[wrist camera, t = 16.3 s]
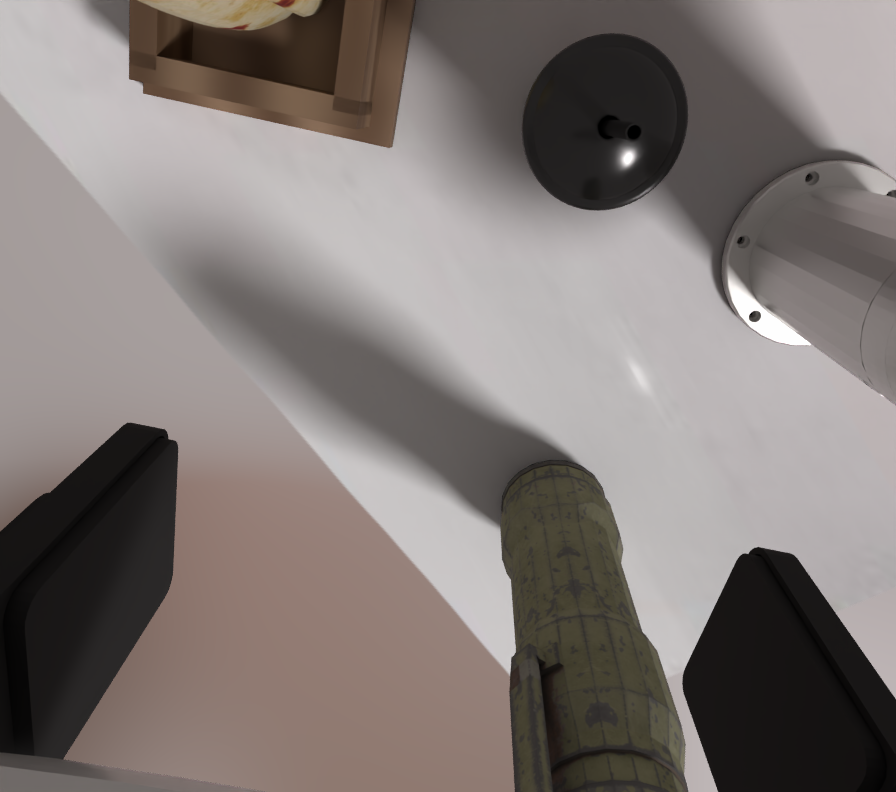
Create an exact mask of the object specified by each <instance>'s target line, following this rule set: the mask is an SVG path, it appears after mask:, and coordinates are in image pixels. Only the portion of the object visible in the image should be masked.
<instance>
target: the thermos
mask: <svg viewBox="0 0 896 792" xmlns="http://www.w3.org/2000/svg"><path fill="white" fill-rule="evenodd" d="M501 511H502V515H501V545H502V560H503V563H504V566H505V569H506V572H507V574H508V576H509V577H510V579H511V586H512V600H513V614H514V628H515V643H516V653H515V655H514V656H513V657H512V658H511V673H510V710H511V727H512V728H511V729H512V746H513V764H514V783H515V792H688V788H687V783H686V780H685V777H684V764H685V740H684V735H683V731H682V727H681V723H680V720H679V717H678V714H677V711H676V708H675V705H674V702H673V698H672V695H671V692H670V690H669V686H668V683H667V680H666V677H665V674H664V671H663V668H662V665H661V662H660V659H659V656H658V653H657V650H656V649H655V648H654V646H653V645H652V643H651V642H650V641H649V639H648V638H647V637H646V635H645V634H644V633H643V632H642V629H641V626H640V623H639V620H638V616H637V613H636V610H635V607H634V604H633V600H632V597H631V594H630V591H629V588H628V584H627V581H626V578H625V575H624V571H623V568H622V565H621V560H622V554H623V546H622V542H621V537H620V533H619V530H618V527H617V524H616V521H615V518H614V515H613V512H612V509H611V506H610V504H609V502H608V501H607V499H606V498H605V495H604V491H603V488H602V486H601V485H600V483H599V482H598V480H597V479H596V477H595V476H594V475H593V474H592V473H590V472H589V471H588V470H586V469H585V468H583V467H582V466H580V465H577V464H574V463H571V462H568V461H554V460H549V461H544V462H540V463H536V464H532V465H531V466H529V467H527V468H525V469H524V470H522V471H520V472H519V473H518V474H517V475H516V476H515V477H514V478H513V479H512V480H511V481H510V482H509V483H508V485H507V487H506V489H505V492H504V494H503V496H502V509H501Z"/></svg>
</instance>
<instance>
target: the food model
mask: <svg viewBox="0 0 896 792" xmlns="http://www.w3.org/2000/svg"><path fill="white" fill-rule="evenodd" d="M138 1H140V2H142V3H144V4H147V5H149V6H151V7H153V8H155V9H158V10H161V11H163V12H166V13H168V14H171V15H174V16H177V17H180V18H183V19H186V20H189V21H192V22H196V23H199V24H203V25H207V26H211V27H216V28H223V29H230V30H255V29H261V28H264V27H267V26H270V25H272V24H275V23H277V22H279V21H282V20H284V19H286V18H287V17H289V16H290V15H291V14H292V13H295V14H297V15H300V16H302V17H306V16H310V15H314V14H317V13H318V12H319V11H320V10H321V9H322V8H323V6H324V5H325V4H326V3H327V2H328V1H329V0H138Z"/></svg>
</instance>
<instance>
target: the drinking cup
mask: <svg viewBox="0 0 896 792" xmlns="http://www.w3.org/2000/svg"><path fill="white" fill-rule="evenodd" d="M687 123H688V105H687V97H686V92H685V89H684V86H683V83H682V80H681V78H680V76H679V74H678V72H677V70H676V68H675V67H674V65H673V64H672V63H671V61H670V60H669V59H668V58H667V57H666V56H665V55H664V54H663V53H662V52H661V51H660V50H659V49H658V48H656V47H655V46H653V45H652V44H650V43H648V42H647V41H645V40H642V39H640V38H637V37H634V36H630V35H625V34H614V33H610V34H600V35H595V36H591V37H588V38H585V39H582V40H580V41H578V42H576V43H574V44H572V45H570V46H568V47H567V48H565V49H564V50H562V51H561V52H560V53H559V54H557V55H556V56H555V57H554V58H553V59H552V60H551V61H550V62H549V63H548V64H547V65H546V66H545V67H544V69H543V70H542V71H541V73H540V74H539V75H538V77H537V79H536V80H535V82H534V84H533V86H532V88H531V90H530V92H529V95H528V98H527V100H526V104H525V107H524V112H523V118H522V141H523V147H524V152H525V155H526V159H527V161H528V164H529V166H530V168H531V170H532V172H533V174H534V176H535V177H536V179H537V180H538V181H539V183H540V184H541V185H542V186H543V187H544V188H545V189H546V190H547V191H548V192H549V193H550V194H551V195H553V196H554V197H555V198H557V199H559V200H560V201H562V202H564V203H566V204H568V205H571V206H573V207H576V208H580V209H586V210H609V209H615V208H619V207H622V206H625V205H628V204H630V203H632V202H634V201H636V200H638V199H640V198H642V197H643V196H645V195H646V194H647V193H649V192H650V191H651V190H652V189H654V188H655V187H656V186H657V185H658V184H659V183H660V182H661V181H662V180H663V179H664V177H665V176H666V175H667V174H668V172H669V171H670V170H671V168H672V167H673V165H674V163H675V161H676V160H677V158H678V155H679V153H680V151H681V148H682V146H683V143H684V139H685V136H686V130H687Z"/></svg>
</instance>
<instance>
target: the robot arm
mask: <svg viewBox="0 0 896 792" xmlns="http://www.w3.org/2000/svg"><path fill="white" fill-rule="evenodd" d="M807 174H809V175H810V176H809V179H808V180H807V181H805V178H806V176H807ZM887 193H888V196H886V195H887ZM741 236H742V241H741V242H740V243H737V240H738V239H739V237H741ZM722 281H723V287H724V292H725V294H726V297H727V299H728V302H729V304H730V306H731V308H732V309H733V310H734V312H735V313H736V315H737V316H738V318H739V319H740V320H741V321H743V322H744V323H745V324H746V325H747V326H748V327H749V328H751V329H752V330H753V331H755V332H756V333H758V334H759V335H760V336H762V337H765V338H767V339H769V340H772V341H774V342H778V343H782V344H787V345H797V346H810V345H813V346H814V347H816V348H817V349H818V350H820V351H821V352H822V353H824V354H825V355H827V356H828V357H829V358H831V359H832V360H833V361H835V362H836V363H838V364H839V365H840V366H842V367H843V368H844V369H846V370H847V371H849V372H850V373H851V374H853V375H854V376H855V377H857V378H858V379H859V380H861V381H862V382H864V383H865V384H866V385H868V386H869V387H870V388H872V389H873V390H875V391H876V392H878V393H879V394H880V395H882V396H883V397H885V398H886V399H888V400H889V401H890V402H892V403H893V404H895V405H896V180H895V179H894V178H893V177H891V176H889V175H888V174H886V173H885V172H883V171H882V170H880V169H878V168H875V167H872V166H869V165H866V164H864V163H859V162H853V161H845V160H827V161H821V162H816V163H810V164H807V165H804V166H801V167H799V168H796V169H793V170H791V171H789V172H787V173H785V174H783V175H782V176H780V177H778V178H776V179H775V180H773V181H772V182H770V183H769V184H768V185H767V186H765V187H764V188H763V189H762V190H761V191H759V192H758V193H757V194H756V195H755V196H754V197H753V198H752V200H751V201H750V202H749V203H748V204H747V205H746V206H745V207H744V209H743V210H742V212H741V213H740V215H739V216H738V218H737V219H736V221H735V223H734V224H733V226H732V229H731V231H730V233H729V236H728V238H727V240H726V244H725V248H724V253H723V257H722ZM753 311H754V312H753ZM751 312H753V314H752V315H751V316H749V314H750V313H751ZM177 464H178V445H177V442H176V441H174V440H169V439H168V434H167V431H166V430H165V429H160V428H155V427H150V426H145V425H140V424H135V423H126V424H125V425H123V426H122V427H121V428H120V429H119V430H118V431H117V432H116V433H115V434H113V435H112V436H111V437H110V438H109V439H108V440H107V441H106V442H105V443H104V444H103V445H101V446H100V447H99V448H98V449H97V450H96V451H95V452H94V453H93V454H92V455H91V456H89V457H88V458H87V459H86V460H85V461H84V462H83V463H82V464H81V465H80V466H79V467H77V468H76V469H75V470H74V471H73V472H72V473H71V474H70V475H69V476H68V477H67V478H65V479H64V480H63V481H62V482H61V483H60V484H59V485H58V486H57V487H56V488H55V489H54V490H52V491H51V492H50V493H45V494H43V495H42V496H40V497H39V498H37V499H36V500H35V501H34V502H32V503H31V504H30V505H29V506H28V507H27V508H26V509H25V510H24V511H23V512H22V513H20V514H19V515H18V516H17V517H16V518H15V519H14V520H13V521H11V522H10V523H9V524H8V525H7V526H6V527H5V528H4V529H3V530H2V531H0V792H265V791H259V790H253V789H247V788H241V787H235V786H229V785H223V784H217V783H211V782H205V781H199V780H194V779H188V778H182V777H175V776H168V775H161V774H156V773H149V772H142V771H136V770H129V769H122V768H115V767H108V766H102V765H95V764H89V763H82V762H76V761H69V760H63V758H64V757H65V755H66V754H67V752H68V750H69V749H70V747H71V746H72V744H73V743H74V741H75V739H76V738H77V736H78V735H79V733H80V731H81V730H82V728H83V727H84V725H85V723H86V722H87V720H88V719H89V717H90V715H91V714H92V712H93V711H94V709H95V708H96V706H97V704H98V703H99V701H100V700H101V698H102V696H103V695H104V693H105V692H106V690H107V688H108V687H109V685H110V684H111V682H112V681H113V679H114V677H115V676H116V674H117V673H118V671H119V669H120V668H121V666H122V665H123V663H124V661H125V660H126V658H127V657H128V655H129V653H130V652H131V650H132V649H133V647H134V646H135V644H136V642H137V641H138V639H139V638H140V636H141V634H142V633H143V631H144V630H145V628H146V627H147V625H148V623H149V622H150V620H151V619H152V617H153V615H154V614H155V612H156V611H157V609H158V607H159V606H160V604H161V603H162V601H163V599H164V598H165V596H166V594H167V592H168V590H169V587H170V584H171V580H172V576H173V558H174V536H175V512H176V489H177V488H176V487H177ZM682 684H683V692H684V695H685V698H686V701H687V704H688V707H689V710H690V712H691V715H692V718H693V721H694V724H695V727H696V730H697V732H698V735H699V738H700V741H701V744H702V747H703V749H704V752H705V755H706V758H707V761H708V764H709V767H710V770H711V773H712V775H713V778H714V781H715V784H716V787H717V790H718V792H896V699H895V697H894V696H893V695H892V693H891V692H890V690H889V689H888V688H887V686H886V685H885V683H884V682H883V680H882V679H881V678H880V676H879V675H878V673H877V672H876V670H875V669H874V667H873V666H872V665H871V663H870V662H869V660H868V659H867V658H866V656H865V655H864V653H863V652H862V650H861V649H860V647H859V646H858V645H857V643H856V642H855V640H854V639H853V637H852V636H851V635H850V633H849V632H848V630H847V629H846V627H845V626H844V625H843V623H842V622H841V620H840V619H839V617H838V616H837V615H836V613H835V612H834V610H833V609H832V607H831V606H830V605H829V603H828V602H827V600H826V599H825V597H824V596H823V595H822V593H821V592H820V590H819V589H818V587H817V586H816V585H815V583H814V582H813V580H812V579H811V577H810V576H809V575H808V573H807V572H806V570H805V569H804V567H803V566H802V565H801V563H800V562H799V560H798V559H797V558H796V557H795V556H794V555H792V554H790V553H785V552H780V551H775V550H770V549H765V548H760V547H757V548H754V549H752V550H751V551H750V552H749V554H742V555H741V556H740V557H739V558H738V559H737V561H736V563H735V565H734V567H733V569H732V572H731V574H730V576H729V578H728V580H727V582H726V584H725V586H724V588H723V590H722V592H721V595H720V597H719V599H718V601H717V603H716V605H715V607H714V609H713V611H712V613H711V615H710V618H709V620H708V622H707V624H706V626H705V628H704V630H703V632H702V634H701V636H700V638H699V640H698V643H697V645H696V647H695V649H694V651H693V653H692V655H691V657H690V659H689V661H688V663H687V666H686V668H685V670H684V674H683V683H682Z"/></svg>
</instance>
